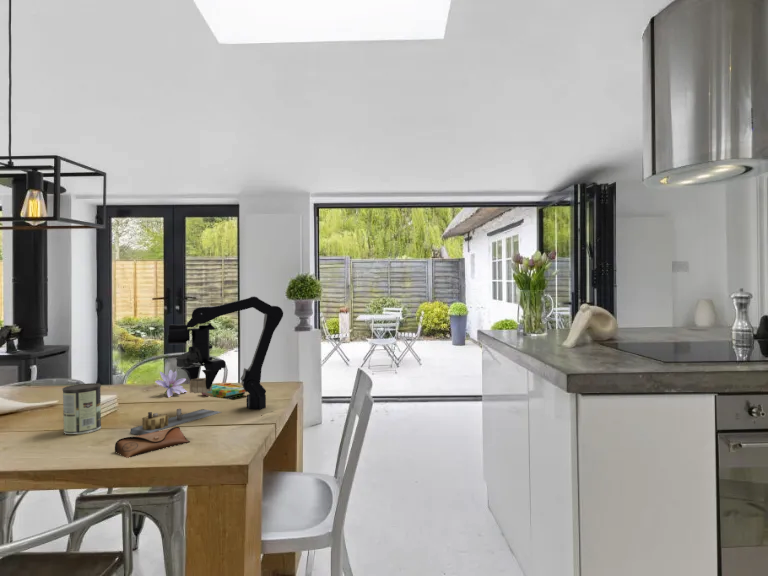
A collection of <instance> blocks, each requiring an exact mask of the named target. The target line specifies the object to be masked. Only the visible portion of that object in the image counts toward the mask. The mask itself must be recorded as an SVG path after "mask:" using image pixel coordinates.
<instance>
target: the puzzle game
mask: <svg viewBox="0 0 768 576" xmlns="http://www.w3.org/2000/svg"><path fill="white" fill-rule="evenodd" d="M245 393H247V392H246V391H245V390H244V388H243V386H242V385H238V384H235V383H232V382H218V383H212V391H210V392H206V393H201V394H202V395H203V396H204V395H206V396H205V397H208V396H210V397H209V398H217V399H225V400H228V398H230V399H233V398H232V397H235V398H238V397H237V396H239V397H242V395H243V396H244V395H245Z"/></svg>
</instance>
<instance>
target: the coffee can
mask: <svg viewBox="0 0 768 576" xmlns="http://www.w3.org/2000/svg"><path fill="white" fill-rule="evenodd" d="M101 388H102V384H101V383H99V382H98V383H95V382H91V383H81V384H73V385H69V386H65V387H63V388H62V400H63V402H62V404H63V405H62V406H63V407H62V409H63V410H62V411H63V412H62V413H63V432H64V433H65V434H64V433H63V434H64V435H66V434H79V435H85V434H84V433H86V434H90V433H94V432H97V431H98V430H99V431H100V430H101V429H102V415H101V414H102V412H101V411H102V408H101V407H102V406H101V405H102V404H101V397H102V396H101ZM89 432H90V433H89Z"/></svg>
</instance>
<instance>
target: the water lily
mask: <svg viewBox="0 0 768 576" xmlns="http://www.w3.org/2000/svg"><path fill="white" fill-rule="evenodd" d="M159 375H160V376H161V377H160V378H161V379H162V380H160V379H158V380H155V381H154V383H156V384H157V385H158V386H160V387H163V388H165V389H166V391H165V392H164V393H166V395H167V397H168V398H169V397H170V396H172V397H173V395H174V393H175V394H177V395H181V393H183V394H185V393H184V392H188V391H187V390H186V389H185V388H184V386H183V385H181V384H183V383H185V381H186V380H187V378H185V377H184V378H183V377H182V378H179V379H176V378H177V377H178V373H177V370H175V371H173V370H172V369H169V371H168V373H167V374H166V373H164V372H162V371H159Z"/></svg>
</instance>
